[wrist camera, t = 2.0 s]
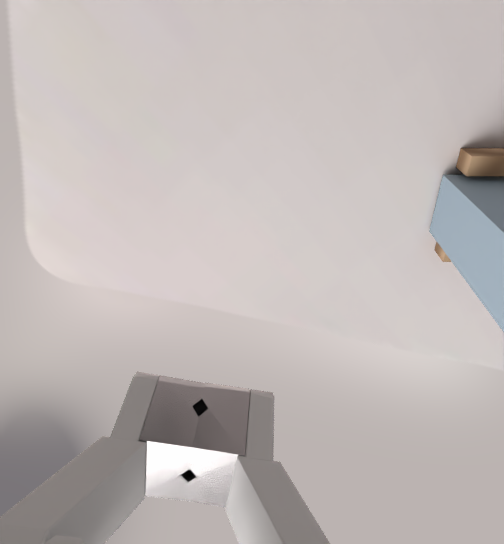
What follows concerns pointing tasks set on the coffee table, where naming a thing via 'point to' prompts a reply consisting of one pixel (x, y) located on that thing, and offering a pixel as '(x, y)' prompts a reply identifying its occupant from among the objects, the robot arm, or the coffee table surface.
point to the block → (474, 234)
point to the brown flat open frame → (477, 171)
